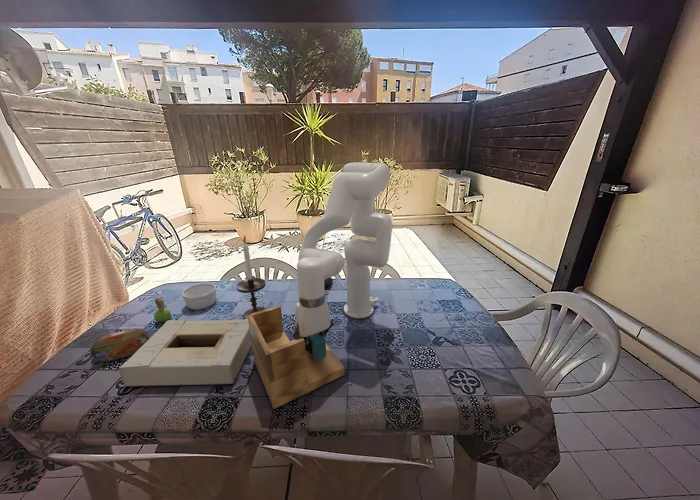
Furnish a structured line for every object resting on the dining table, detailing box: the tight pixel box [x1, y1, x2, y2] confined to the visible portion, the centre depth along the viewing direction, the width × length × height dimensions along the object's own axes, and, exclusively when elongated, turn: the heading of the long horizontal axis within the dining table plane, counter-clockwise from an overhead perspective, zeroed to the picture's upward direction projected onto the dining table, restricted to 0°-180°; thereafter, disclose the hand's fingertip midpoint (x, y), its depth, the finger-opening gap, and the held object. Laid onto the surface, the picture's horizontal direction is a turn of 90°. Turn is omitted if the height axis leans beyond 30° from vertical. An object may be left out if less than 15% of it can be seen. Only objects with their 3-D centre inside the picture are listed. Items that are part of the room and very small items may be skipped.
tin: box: [89, 328, 150, 362], centre depth 90 cm, size 15×3×8 cm, turn 117°
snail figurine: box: [153, 296, 171, 323], centre depth 106 cm, size 5×6×12 cm
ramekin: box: [181, 282, 217, 311], centre depth 120 cm, size 13×13×7 cm
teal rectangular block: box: [310, 332, 327, 361], centre depth 85 cm, size 4×9×6 cm, turn 32°
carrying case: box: [324, 277, 334, 290], centre depth 136 cm, size 11×3×15 cm
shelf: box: [247, 304, 346, 410], centre depth 82 cm, size 22×20×18 cm
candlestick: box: [236, 234, 267, 319], centre depth 106 cm, size 11×11×35 cm
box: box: [118, 318, 252, 387], centre depth 88 cm, size 23×8×32 cm
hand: (314, 348), depth 86 cm, fingers closed on teal rectangular block, 3 cm apart
